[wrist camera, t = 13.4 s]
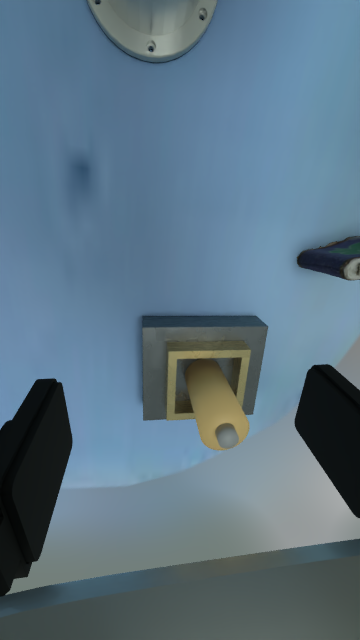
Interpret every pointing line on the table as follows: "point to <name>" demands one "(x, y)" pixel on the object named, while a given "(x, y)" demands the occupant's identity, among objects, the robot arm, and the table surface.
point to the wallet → (334, 259)
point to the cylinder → (215, 406)
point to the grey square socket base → (191, 345)
